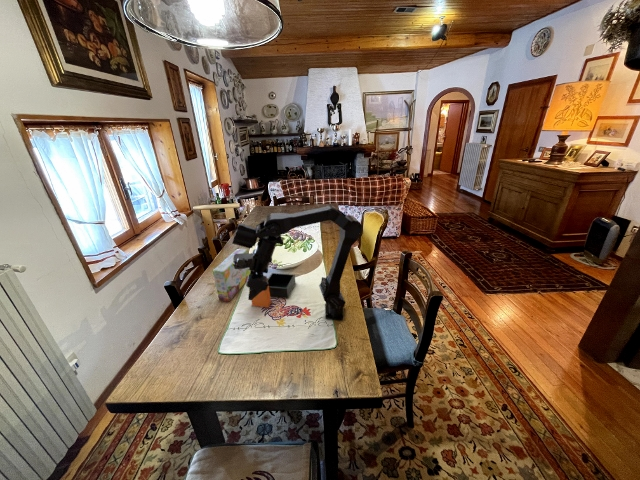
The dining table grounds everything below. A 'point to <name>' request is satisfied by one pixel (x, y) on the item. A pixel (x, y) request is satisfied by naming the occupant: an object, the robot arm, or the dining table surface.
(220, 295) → the snack box
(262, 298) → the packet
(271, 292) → the black square tray
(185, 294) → the dining table surface
